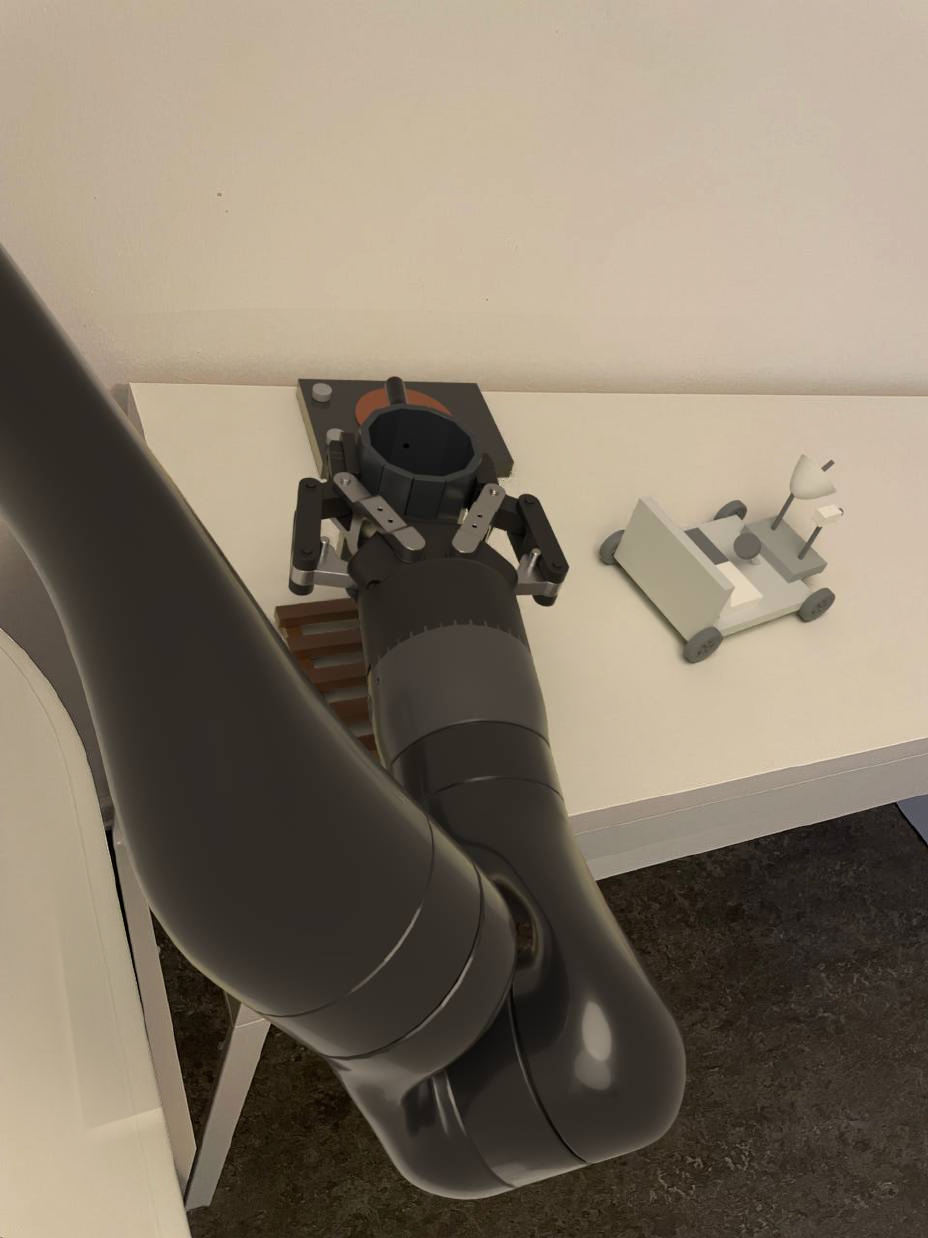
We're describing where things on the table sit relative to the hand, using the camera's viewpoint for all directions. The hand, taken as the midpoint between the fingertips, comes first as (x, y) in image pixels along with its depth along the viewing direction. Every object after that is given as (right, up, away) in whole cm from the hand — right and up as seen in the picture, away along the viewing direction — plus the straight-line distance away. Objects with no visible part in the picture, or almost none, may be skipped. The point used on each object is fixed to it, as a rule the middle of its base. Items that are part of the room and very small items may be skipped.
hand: (406, 450), depth 57 cm
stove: (-2, +6, +30) cm, 30 cm away
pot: (-2, -4, +5) cm, 7 cm away
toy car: (+24, -7, +26) cm, 36 cm away
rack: (-3, -14, +10) cm, 17 cm away
